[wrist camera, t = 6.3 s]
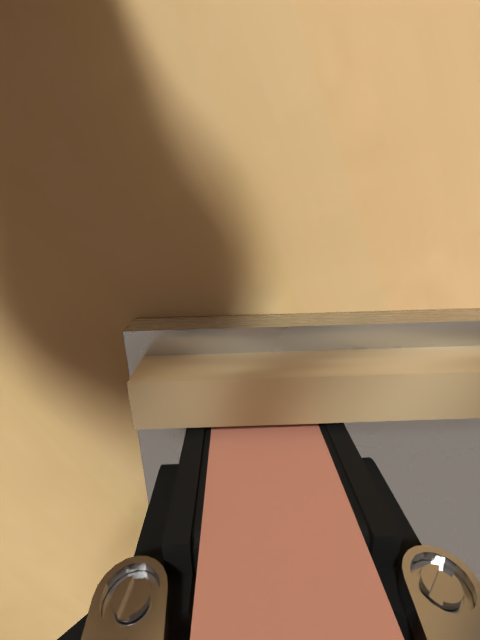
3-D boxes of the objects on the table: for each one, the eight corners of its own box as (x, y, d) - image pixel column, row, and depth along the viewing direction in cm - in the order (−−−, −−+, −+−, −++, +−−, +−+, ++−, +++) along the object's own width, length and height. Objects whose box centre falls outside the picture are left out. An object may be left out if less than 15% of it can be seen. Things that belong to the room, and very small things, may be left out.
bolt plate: (854, 297, 11) (934, 308, 10) (700, 554, 15) (743, 585, 13) (134, 318, 10) (121, 332, 9) (169, 574, 14) (163, 609, 13)
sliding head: (310, 405, 10) (414, 664, 4) (305, 504, 11) (380, 807, 6) (213, 408, 10) (186, 672, 4) (219, 507, 11) (204, 814, 5)
